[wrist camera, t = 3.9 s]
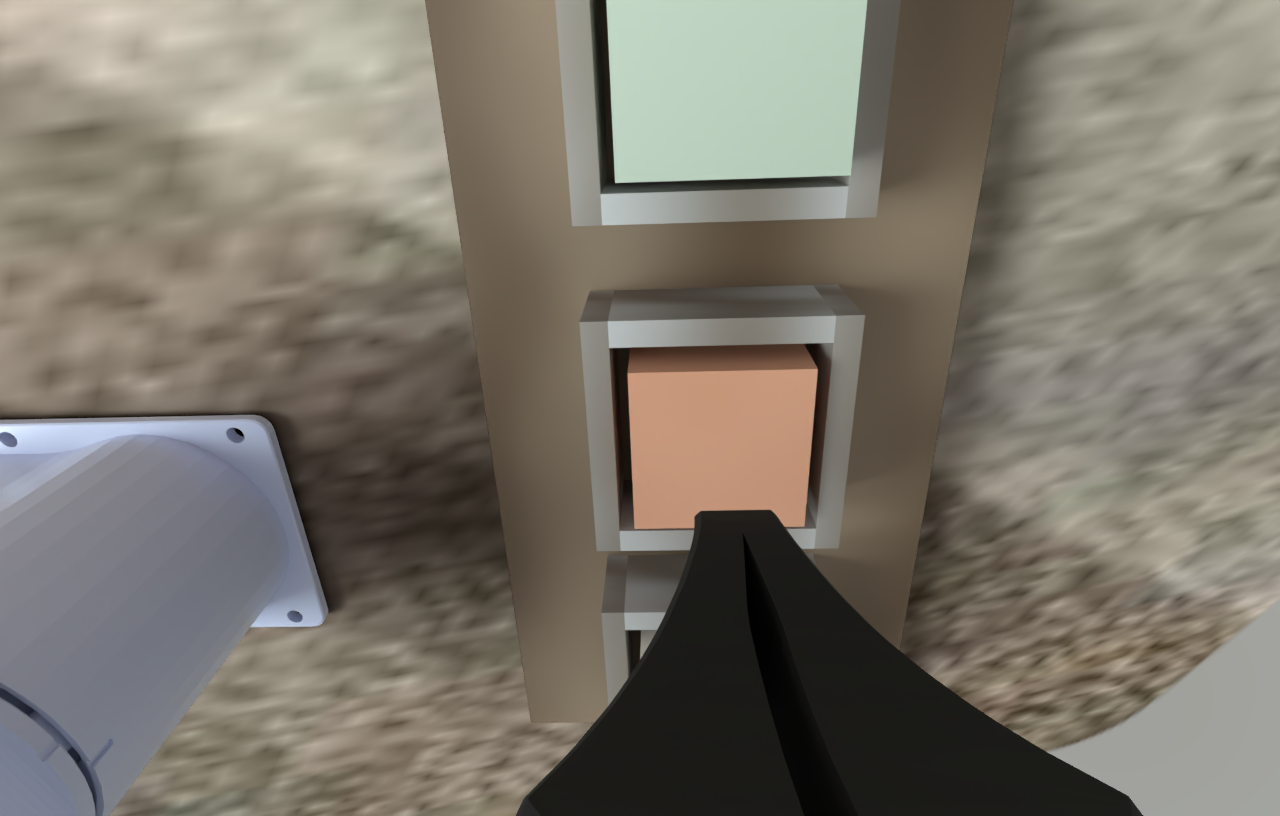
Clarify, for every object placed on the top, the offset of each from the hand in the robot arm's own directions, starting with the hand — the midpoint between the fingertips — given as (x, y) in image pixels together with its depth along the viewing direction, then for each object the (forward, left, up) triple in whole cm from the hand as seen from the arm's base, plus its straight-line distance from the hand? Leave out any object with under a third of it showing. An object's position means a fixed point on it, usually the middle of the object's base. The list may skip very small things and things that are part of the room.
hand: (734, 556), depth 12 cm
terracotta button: (0, 0, -6) cm, 6 cm away
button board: (0, 0, -8) cm, 8 cm away
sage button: (0, +8, -5) cm, 9 cm away
